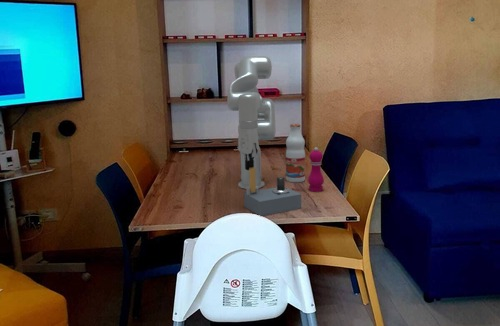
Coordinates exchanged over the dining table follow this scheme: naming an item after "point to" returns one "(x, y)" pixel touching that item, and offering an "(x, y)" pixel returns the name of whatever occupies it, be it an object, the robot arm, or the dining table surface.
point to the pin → (280, 186)
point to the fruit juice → (295, 155)
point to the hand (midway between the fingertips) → (249, 169)
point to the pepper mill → (316, 171)
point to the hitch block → (271, 201)
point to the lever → (252, 180)
